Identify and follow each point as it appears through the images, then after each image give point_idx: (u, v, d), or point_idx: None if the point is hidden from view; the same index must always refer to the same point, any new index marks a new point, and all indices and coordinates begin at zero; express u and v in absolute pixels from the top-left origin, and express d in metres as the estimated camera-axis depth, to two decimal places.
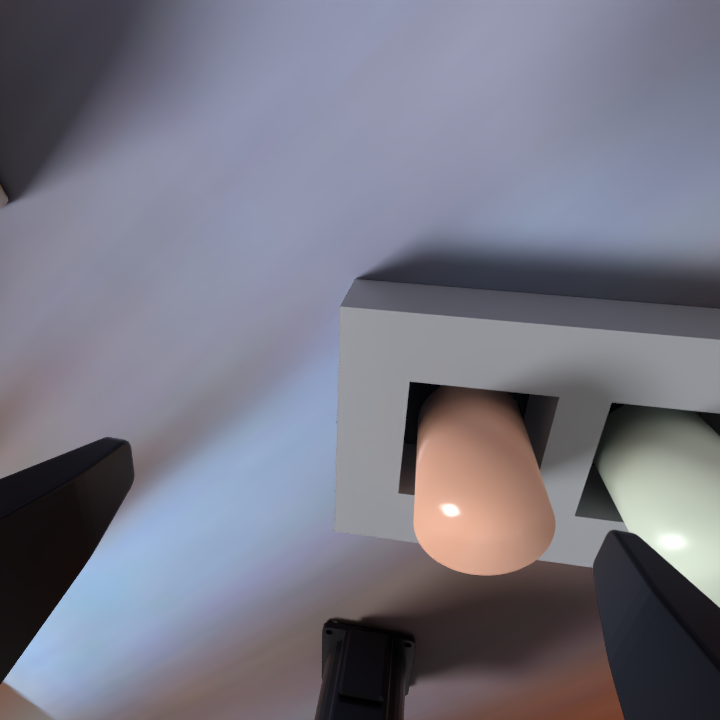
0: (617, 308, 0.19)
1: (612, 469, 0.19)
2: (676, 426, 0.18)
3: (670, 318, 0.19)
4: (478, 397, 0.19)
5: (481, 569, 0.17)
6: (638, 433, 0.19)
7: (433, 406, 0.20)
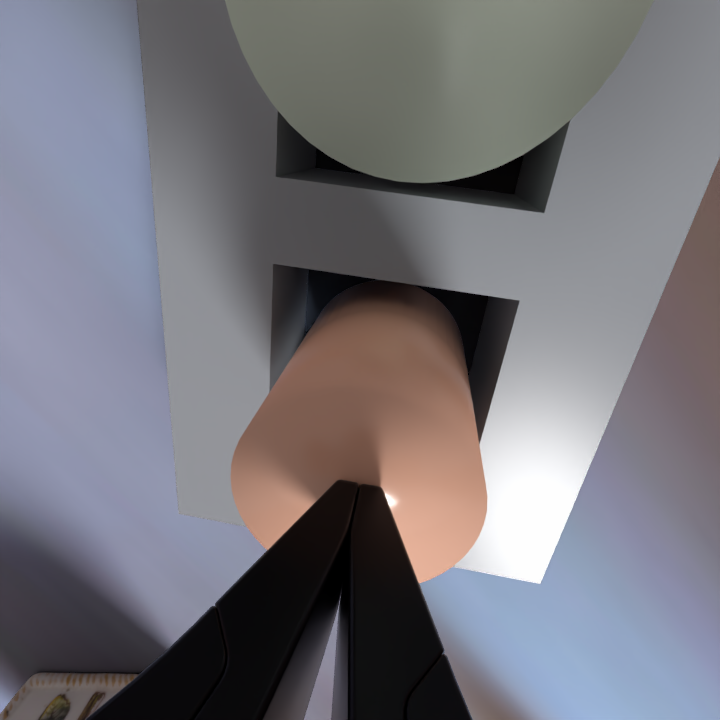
0: None
1: None
2: None
3: None
4: None
5: (469, 509, 0.08)
6: None
7: None
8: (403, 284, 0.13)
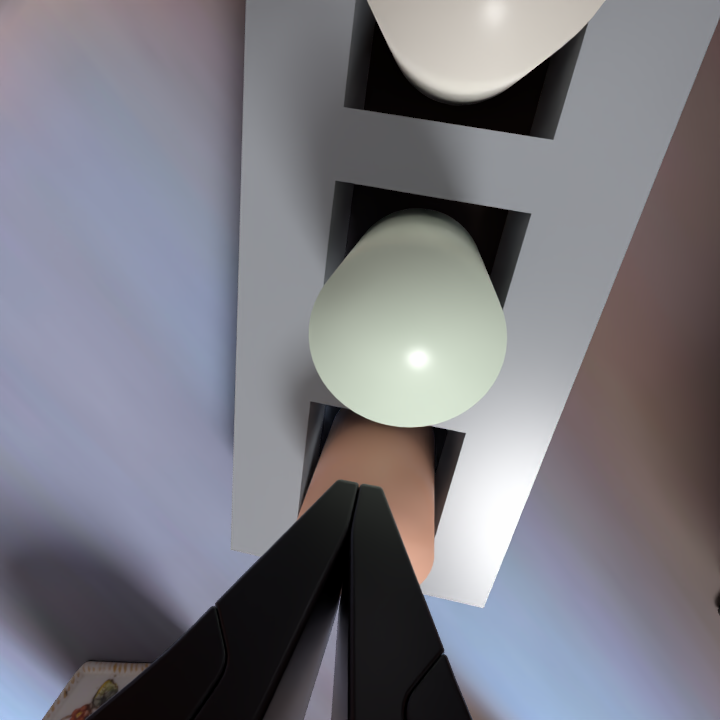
0: None
1: None
2: None
3: None
4: None
5: (424, 557, 0.15)
6: None
7: None
8: None
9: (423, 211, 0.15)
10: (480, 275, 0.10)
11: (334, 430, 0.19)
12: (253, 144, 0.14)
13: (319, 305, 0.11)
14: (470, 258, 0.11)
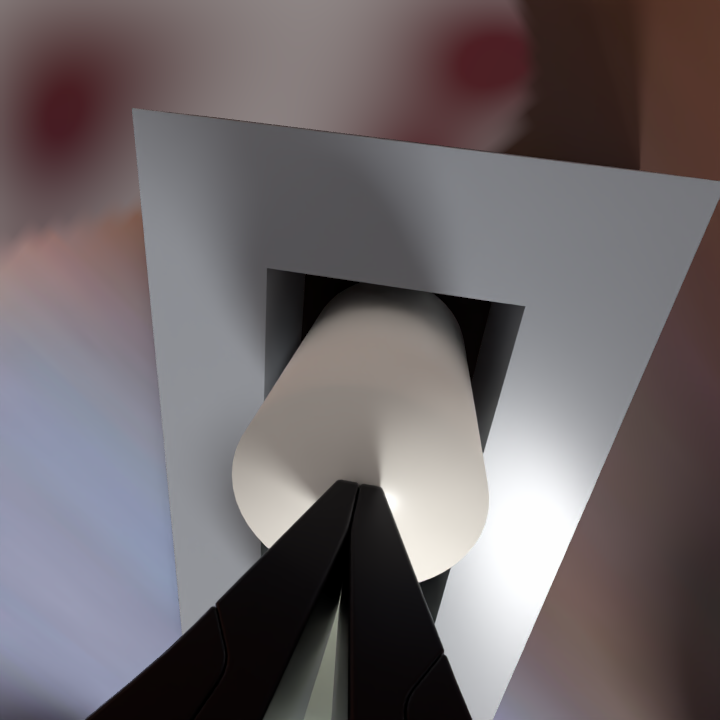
0: None
1: None
2: None
3: None
4: None
5: None
6: None
7: None
8: None
9: None
10: None
11: None
12: (179, 488, 0.14)
13: None
14: None
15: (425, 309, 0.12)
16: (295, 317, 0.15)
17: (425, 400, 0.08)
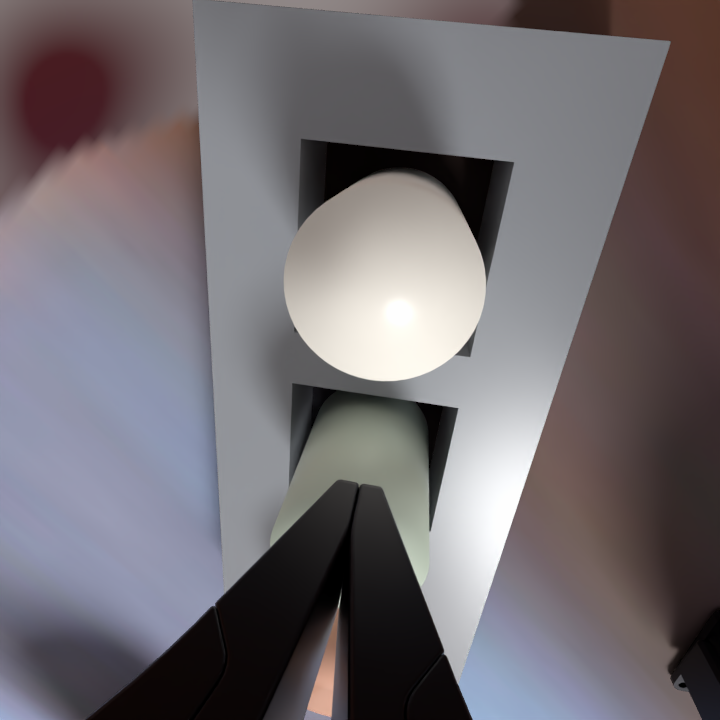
0: None
1: None
2: None
3: None
4: None
5: None
6: None
7: None
8: None
9: None
10: (402, 515, 0.13)
11: None
12: (221, 357, 0.17)
13: (276, 530, 0.14)
14: (397, 486, 0.14)
15: (432, 179, 0.14)
16: None
17: (436, 198, 0.10)
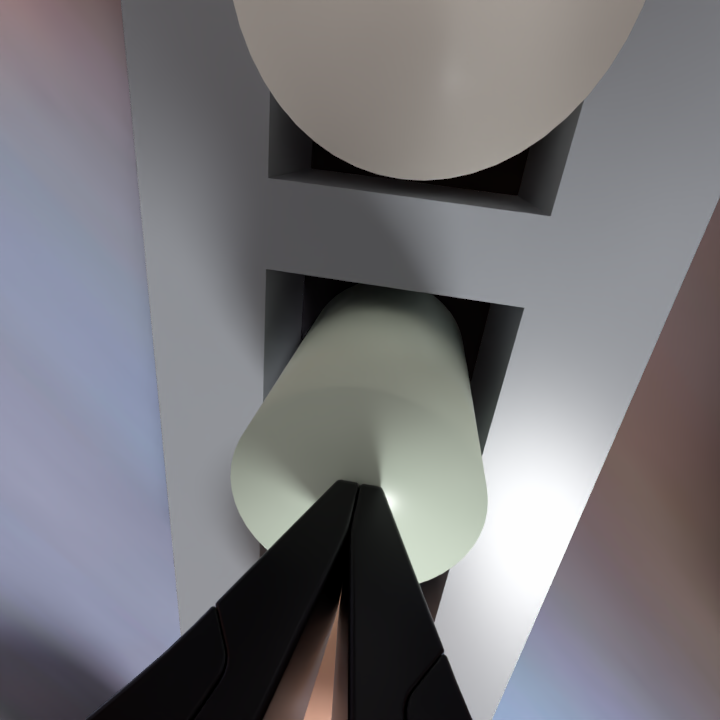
0: None
1: None
2: None
3: None
4: None
5: None
6: None
7: None
8: None
9: (389, 287, 0.13)
10: (447, 423, 0.08)
11: None
12: (157, 225, 0.11)
13: (240, 454, 0.08)
14: (437, 386, 0.08)
15: None
16: None
17: None
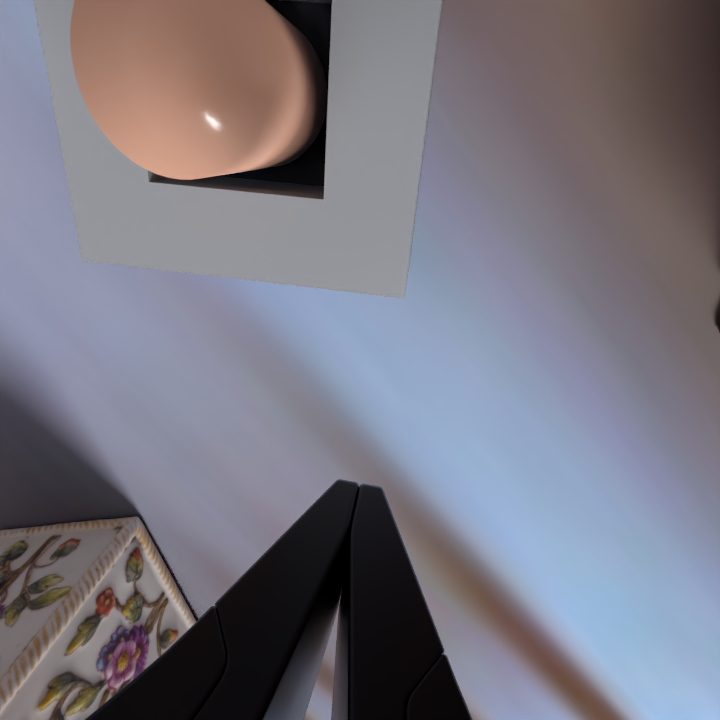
0: None
1: None
2: None
3: None
4: None
5: (255, 60, 0.10)
6: None
7: None
8: None
9: None
10: None
11: None
12: None
13: None
14: None
15: None
16: None
17: None
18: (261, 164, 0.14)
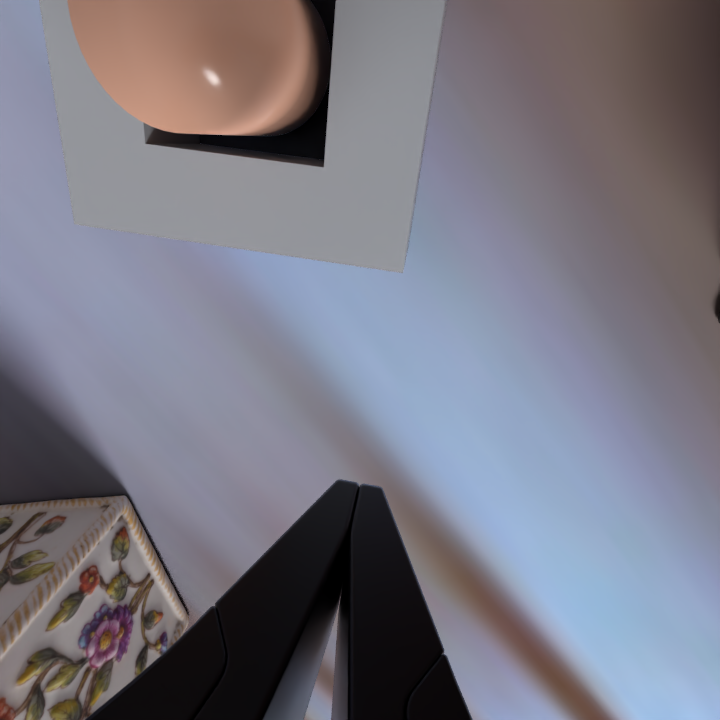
0: None
1: None
2: None
3: None
4: None
5: (258, 7, 0.10)
6: None
7: None
8: None
9: None
10: None
11: None
12: None
13: None
14: None
15: None
16: None
17: None
18: (261, 126, 0.14)
